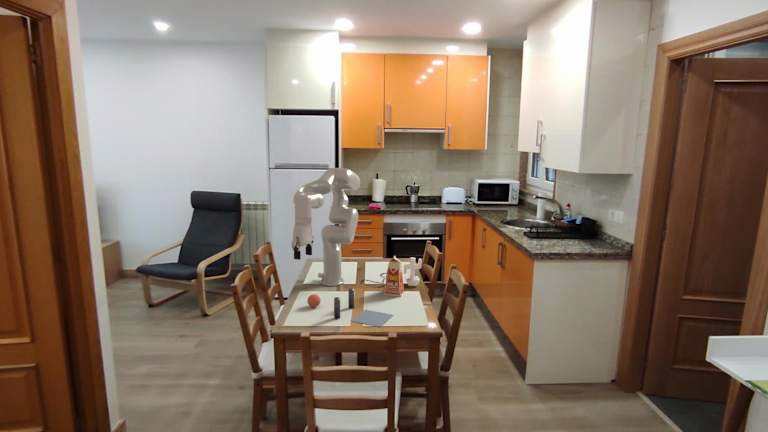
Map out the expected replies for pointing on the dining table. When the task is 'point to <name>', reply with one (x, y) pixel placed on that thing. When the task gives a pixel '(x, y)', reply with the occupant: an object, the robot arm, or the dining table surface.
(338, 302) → the post
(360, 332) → the dining table surface
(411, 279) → the figurine
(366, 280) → the sunglasses
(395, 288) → the milk carton
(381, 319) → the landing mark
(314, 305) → the ball
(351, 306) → the post
